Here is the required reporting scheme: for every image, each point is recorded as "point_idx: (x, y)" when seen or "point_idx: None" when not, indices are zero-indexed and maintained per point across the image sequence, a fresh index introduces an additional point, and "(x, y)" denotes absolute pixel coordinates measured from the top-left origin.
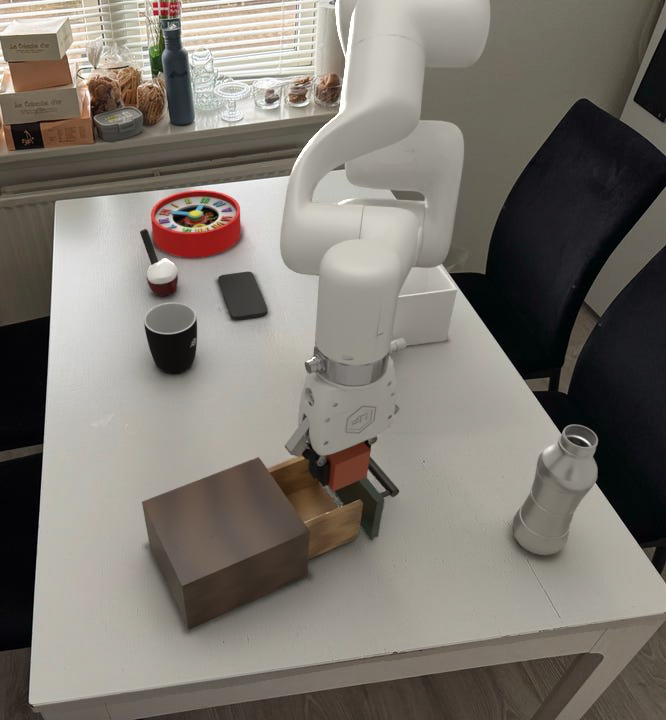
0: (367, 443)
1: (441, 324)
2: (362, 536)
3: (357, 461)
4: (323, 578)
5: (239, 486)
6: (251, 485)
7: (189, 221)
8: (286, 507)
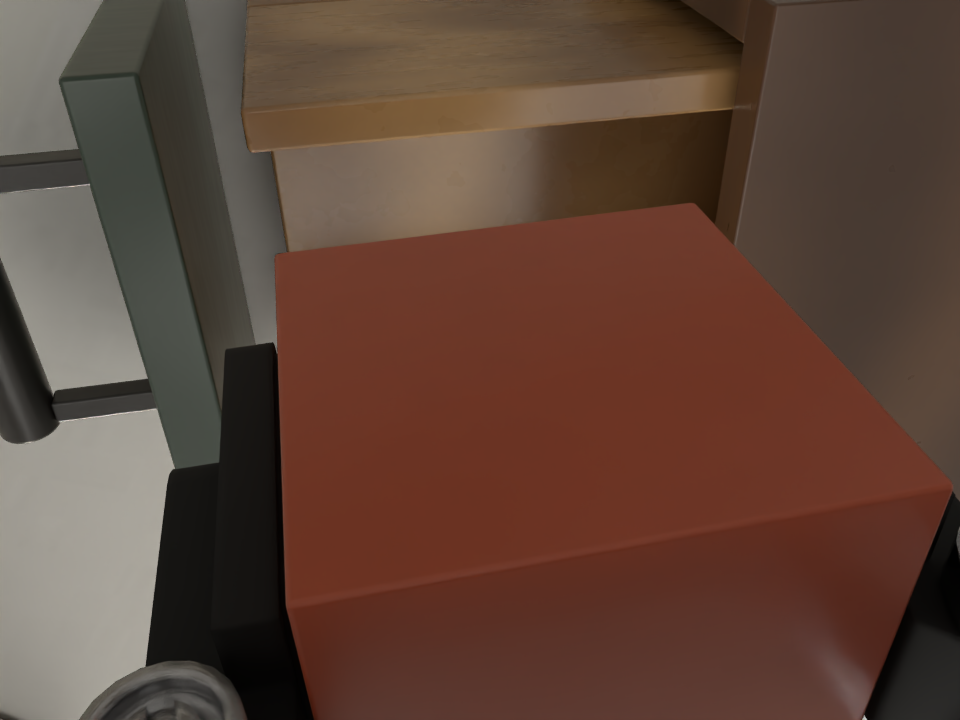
0: (234, 681)
1: None
2: (200, 14)
3: (513, 460)
4: None
5: None
6: None
7: None
8: (772, 241)
